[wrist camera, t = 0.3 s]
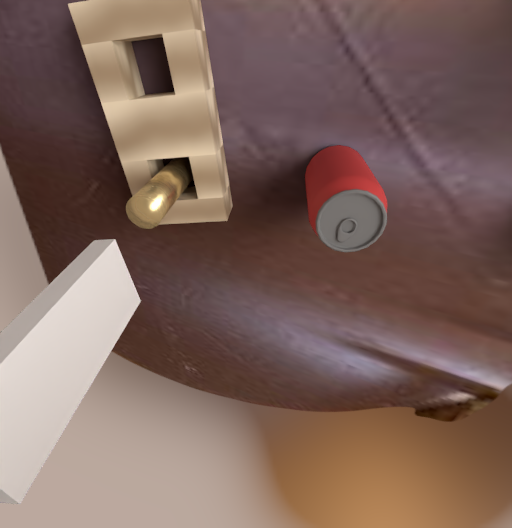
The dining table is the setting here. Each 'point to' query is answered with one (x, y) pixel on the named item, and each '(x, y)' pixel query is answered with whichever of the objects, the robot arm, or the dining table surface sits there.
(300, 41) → the dining table surface
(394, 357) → the dining table surface
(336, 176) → the beer can
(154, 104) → the pin block
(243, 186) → the dining table surface
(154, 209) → the brass pin
